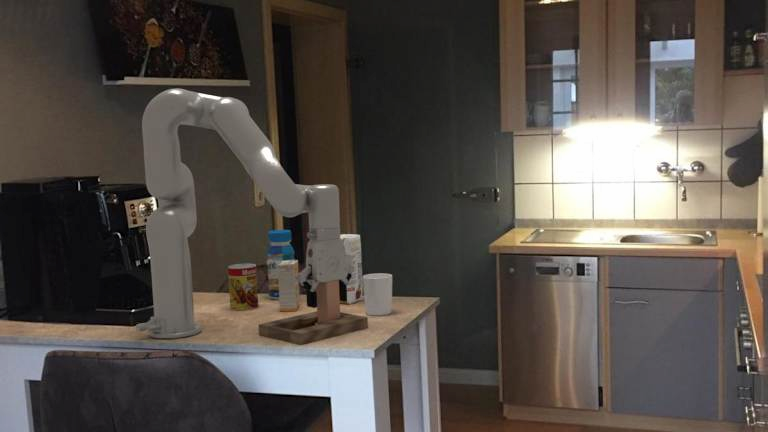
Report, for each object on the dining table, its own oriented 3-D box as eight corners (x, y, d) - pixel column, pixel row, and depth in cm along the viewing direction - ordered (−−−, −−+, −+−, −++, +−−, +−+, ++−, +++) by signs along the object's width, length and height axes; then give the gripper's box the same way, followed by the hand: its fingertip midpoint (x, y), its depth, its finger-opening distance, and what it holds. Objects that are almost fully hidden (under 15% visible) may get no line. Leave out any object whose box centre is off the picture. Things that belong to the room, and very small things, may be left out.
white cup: (360, 316, 214) (358, 278, 213) (368, 309, 222) (366, 273, 221) (389, 316, 212) (388, 278, 211) (396, 310, 220) (395, 273, 219)
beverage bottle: (299, 298, 242) (295, 231, 240) (270, 301, 240) (267, 233, 238) (294, 293, 250) (291, 228, 248) (267, 296, 248) (263, 230, 246)
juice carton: (366, 299, 237) (363, 234, 235) (350, 305, 229) (347, 237, 227) (344, 297, 240) (341, 233, 239) (328, 303, 233) (325, 237, 231)
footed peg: (328, 332, 197) (325, 283, 196) (309, 328, 202) (307, 280, 201) (349, 326, 202) (347, 278, 201) (330, 323, 207) (328, 276, 206)
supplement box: (297, 311, 224) (294, 263, 222) (279, 311, 224) (277, 264, 223) (300, 305, 232) (298, 259, 231) (283, 305, 232) (281, 260, 231)
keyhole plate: (300, 344, 186) (300, 333, 186) (259, 335, 197) (258, 324, 197) (367, 327, 201) (367, 317, 200) (325, 319, 212) (324, 309, 212)
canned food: (253, 310, 227) (250, 267, 226) (226, 310, 228) (223, 268, 227) (262, 304, 235) (259, 263, 234) (236, 305, 236) (233, 263, 235)
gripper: (307, 239, 192) (309, 311, 193) (361, 232, 204) (363, 300, 205) (287, 237, 197) (290, 307, 198) (341, 230, 209) (343, 296, 211)
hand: (327, 303), depth 202 cm, fingers open, 9 cm apart
